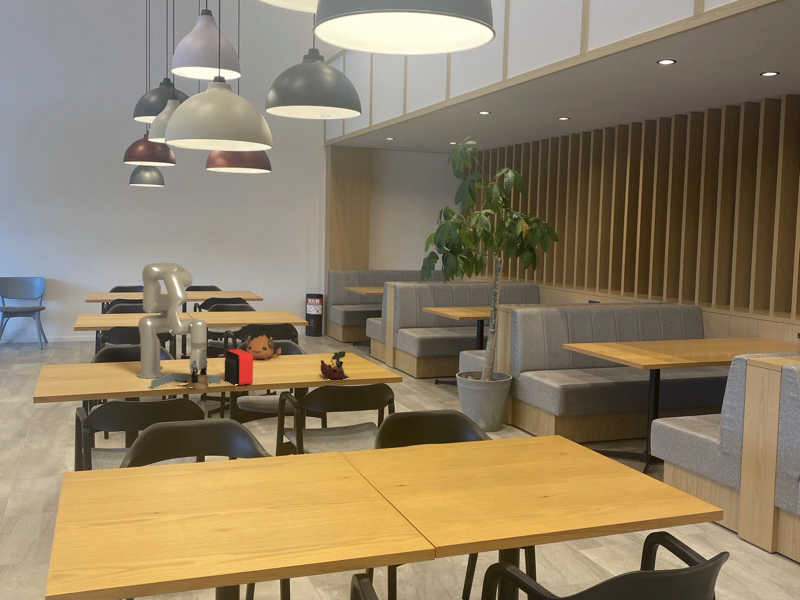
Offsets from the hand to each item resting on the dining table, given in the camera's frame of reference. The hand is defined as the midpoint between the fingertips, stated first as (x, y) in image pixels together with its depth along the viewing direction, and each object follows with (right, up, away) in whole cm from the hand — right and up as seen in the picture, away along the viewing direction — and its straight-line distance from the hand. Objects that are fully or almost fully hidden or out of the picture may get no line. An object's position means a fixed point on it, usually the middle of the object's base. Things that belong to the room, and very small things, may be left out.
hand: (199, 380), depth 371 cm
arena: (-7, -3, +5) cm, 9 cm away
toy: (+16, +4, +83) cm, 85 cm away
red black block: (+15, -3, +15) cm, 22 cm away
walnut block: (0, -4, +1) cm, 4 cm away
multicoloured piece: (+63, -3, +31) cm, 71 cm away
